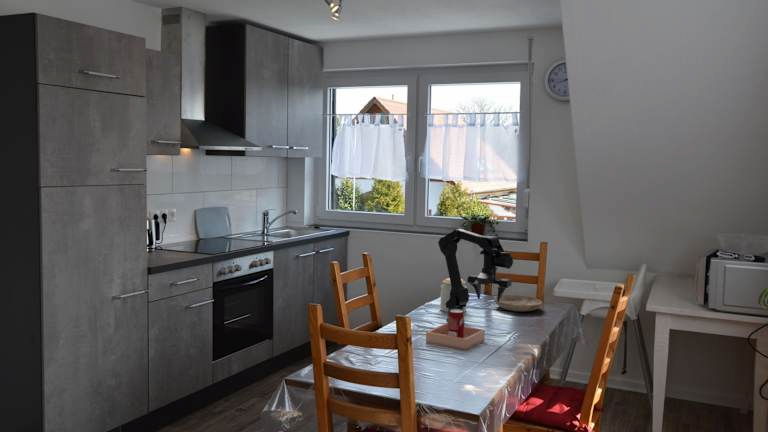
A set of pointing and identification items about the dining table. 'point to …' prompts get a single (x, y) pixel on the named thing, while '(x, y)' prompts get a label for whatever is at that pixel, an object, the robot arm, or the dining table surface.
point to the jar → (448, 293)
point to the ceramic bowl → (518, 303)
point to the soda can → (456, 323)
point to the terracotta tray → (442, 339)
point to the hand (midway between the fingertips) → (488, 300)
